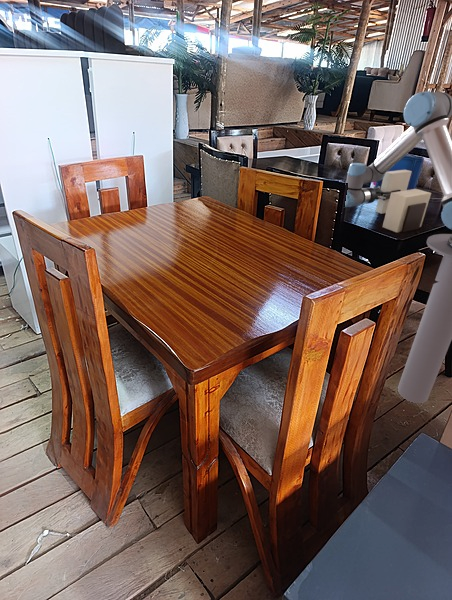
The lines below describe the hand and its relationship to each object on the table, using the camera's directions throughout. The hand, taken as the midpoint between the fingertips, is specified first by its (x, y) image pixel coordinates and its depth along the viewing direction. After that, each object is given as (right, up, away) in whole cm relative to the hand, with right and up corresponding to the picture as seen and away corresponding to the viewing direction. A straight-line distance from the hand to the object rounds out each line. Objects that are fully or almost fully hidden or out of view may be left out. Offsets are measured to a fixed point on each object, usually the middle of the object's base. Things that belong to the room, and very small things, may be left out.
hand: (395, 191), depth 204 cm
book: (+9, +2, +25) cm, 27 cm away
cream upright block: (-5, -22, -18) cm, 29 cm away
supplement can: (+8, +12, +43) cm, 45 cm away
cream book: (-2, -9, +4) cm, 10 cm away
